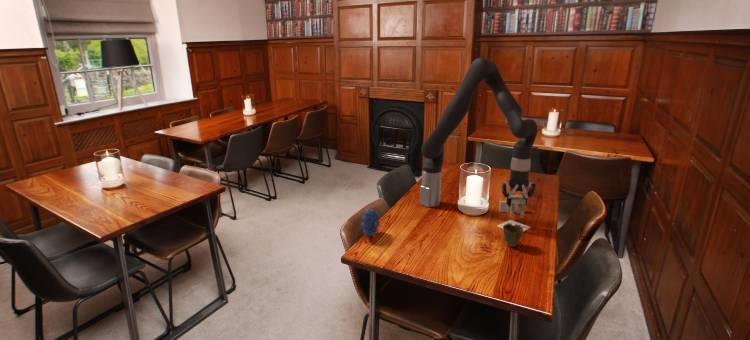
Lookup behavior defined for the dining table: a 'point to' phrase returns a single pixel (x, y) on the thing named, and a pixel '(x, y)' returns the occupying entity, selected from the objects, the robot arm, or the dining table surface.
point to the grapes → (370, 222)
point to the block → (504, 207)
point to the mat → (514, 225)
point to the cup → (512, 234)
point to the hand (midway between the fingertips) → (516, 205)
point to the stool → (520, 205)
